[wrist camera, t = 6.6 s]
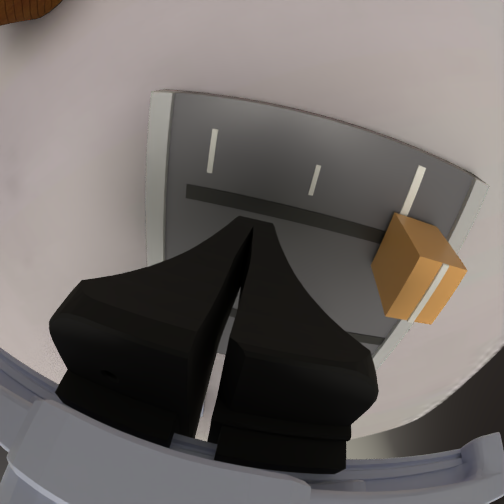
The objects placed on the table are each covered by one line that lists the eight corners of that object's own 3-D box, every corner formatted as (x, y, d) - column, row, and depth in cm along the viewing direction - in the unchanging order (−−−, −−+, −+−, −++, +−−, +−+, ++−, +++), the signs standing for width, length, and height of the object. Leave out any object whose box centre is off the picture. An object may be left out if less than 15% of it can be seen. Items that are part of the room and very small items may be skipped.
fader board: (364, 366, 20) (366, 382, 19) (161, 323, 21) (153, 338, 19) (475, 175, 11) (489, 186, 10) (165, 89, 12) (151, 91, 10)
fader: (411, 275, 13) (431, 325, 10) (370, 265, 13) (385, 318, 10) (436, 226, 12) (468, 272, 9) (394, 212, 12) (420, 258, 9)
